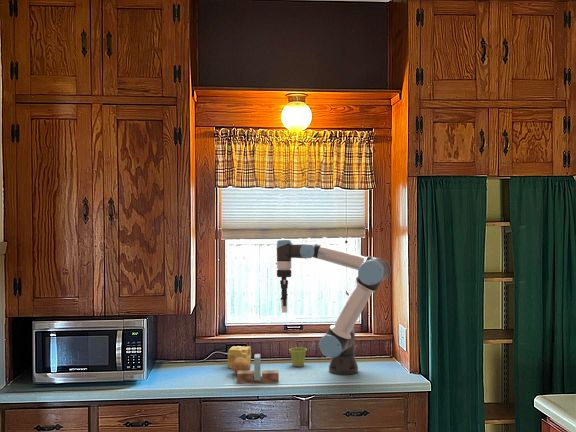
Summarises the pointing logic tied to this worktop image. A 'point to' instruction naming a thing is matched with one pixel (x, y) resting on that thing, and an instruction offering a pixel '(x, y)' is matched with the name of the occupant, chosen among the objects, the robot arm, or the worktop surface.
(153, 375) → the worktop surface
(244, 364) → the potato
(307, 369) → the worktop surface
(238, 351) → the cheese
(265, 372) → the brown wooden u-shaped block
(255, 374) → the grey upright block
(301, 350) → the plant pot
